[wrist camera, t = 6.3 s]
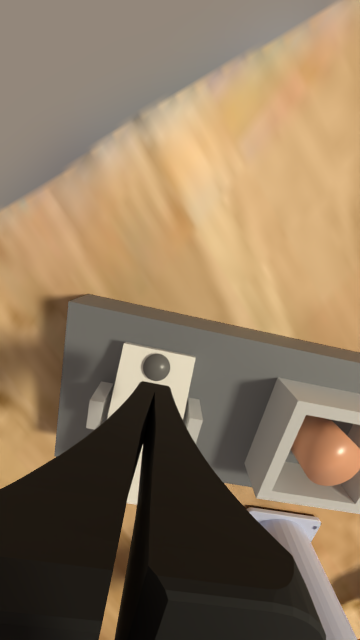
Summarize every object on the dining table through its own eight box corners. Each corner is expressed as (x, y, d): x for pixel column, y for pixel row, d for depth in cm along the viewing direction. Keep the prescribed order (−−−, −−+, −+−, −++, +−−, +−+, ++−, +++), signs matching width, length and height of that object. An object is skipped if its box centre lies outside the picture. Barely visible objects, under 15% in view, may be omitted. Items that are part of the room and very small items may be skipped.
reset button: (323, 456, 16) (348, 489, 14) (278, 449, 16) (296, 481, 14) (342, 417, 15) (372, 445, 13) (296, 409, 15) (317, 435, 13)
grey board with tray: (324, 468, 21) (375, 539, 15) (73, 426, 19) (32, 491, 13) (381, 357, 18) (470, 398, 12) (88, 294, 16) (43, 310, 10)
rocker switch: (164, 495, 13) (164, 510, 12) (95, 484, 13) (88, 499, 12) (193, 355, 14) (196, 358, 13) (126, 342, 14) (123, 343, 12)
